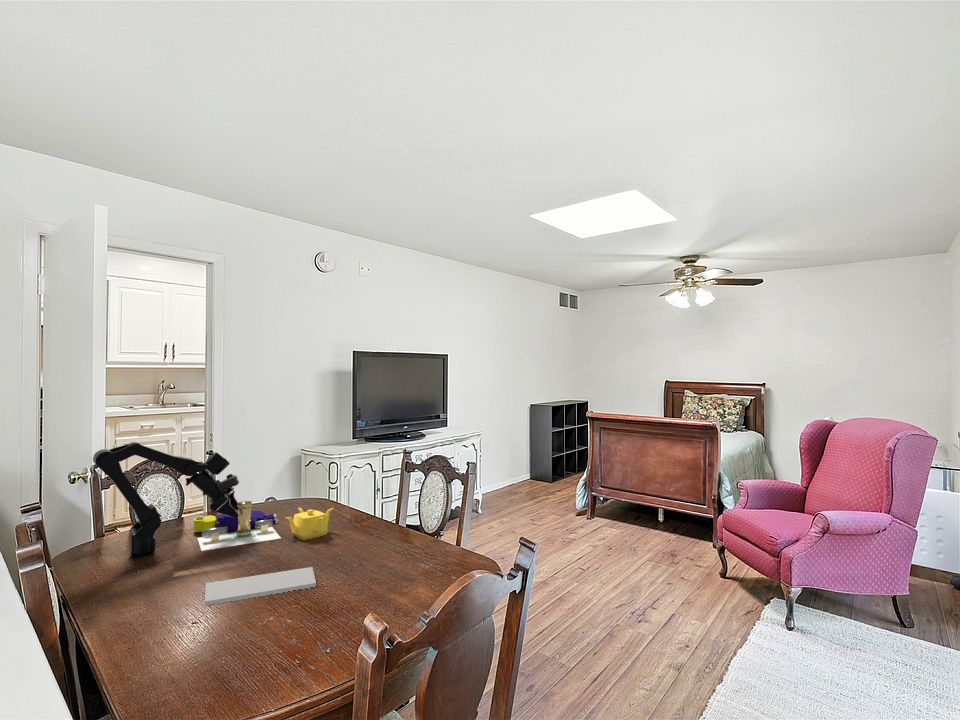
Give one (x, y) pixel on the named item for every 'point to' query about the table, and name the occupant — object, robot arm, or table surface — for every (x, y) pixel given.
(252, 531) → the board
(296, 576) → the grey flat slab
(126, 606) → the table surface
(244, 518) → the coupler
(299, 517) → the teapot
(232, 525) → the toy
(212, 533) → the shafts
